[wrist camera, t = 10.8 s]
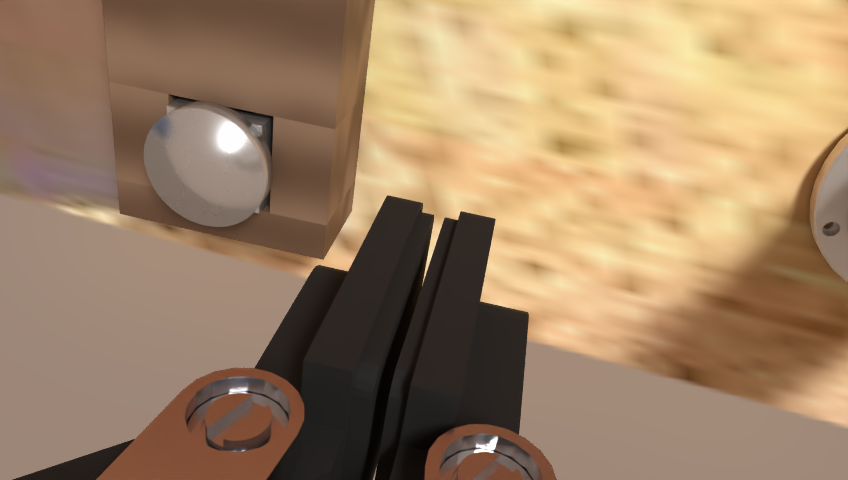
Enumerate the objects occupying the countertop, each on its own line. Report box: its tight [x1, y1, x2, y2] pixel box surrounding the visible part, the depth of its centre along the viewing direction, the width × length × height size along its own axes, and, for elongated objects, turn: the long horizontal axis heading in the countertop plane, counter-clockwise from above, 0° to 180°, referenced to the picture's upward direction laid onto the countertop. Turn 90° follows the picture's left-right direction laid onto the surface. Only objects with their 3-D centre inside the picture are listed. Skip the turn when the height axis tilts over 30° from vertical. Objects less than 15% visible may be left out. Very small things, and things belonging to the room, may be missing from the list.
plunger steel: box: [144, 97, 274, 227], centre depth 39 cm, size 6×6×7 cm
